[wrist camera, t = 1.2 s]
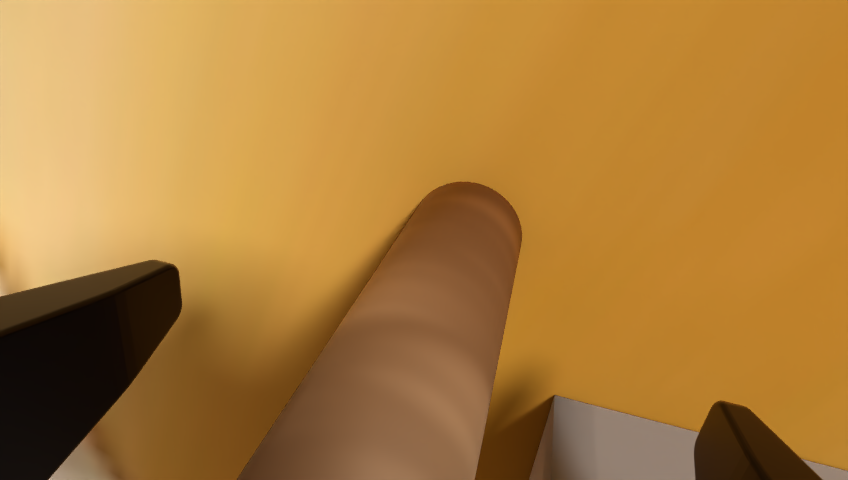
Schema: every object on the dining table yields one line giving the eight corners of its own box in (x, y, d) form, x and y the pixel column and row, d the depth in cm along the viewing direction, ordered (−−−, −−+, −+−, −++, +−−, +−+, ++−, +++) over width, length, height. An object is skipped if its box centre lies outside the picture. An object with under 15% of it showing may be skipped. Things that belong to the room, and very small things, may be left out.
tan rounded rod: (532, 194, 12) (377, 1008, 3) (510, 293, 13) (346, 1099, 4) (419, 171, 13) (-72, 804, 3) (407, 269, 14) (27, 945, 4)
